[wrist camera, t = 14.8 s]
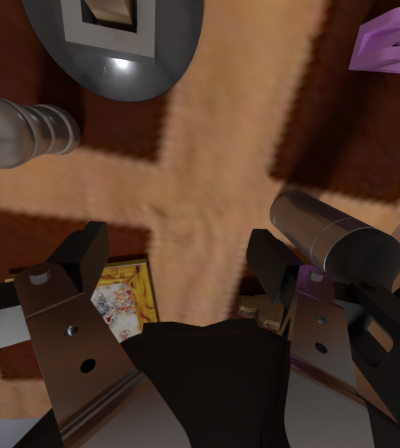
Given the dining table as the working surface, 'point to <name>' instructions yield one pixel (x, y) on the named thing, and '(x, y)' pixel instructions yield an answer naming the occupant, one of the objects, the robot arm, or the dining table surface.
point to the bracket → (378, 44)
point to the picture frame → (123, 297)
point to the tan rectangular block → (114, 13)
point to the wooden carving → (260, 310)
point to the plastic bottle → (34, 132)
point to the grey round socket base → (120, 45)
